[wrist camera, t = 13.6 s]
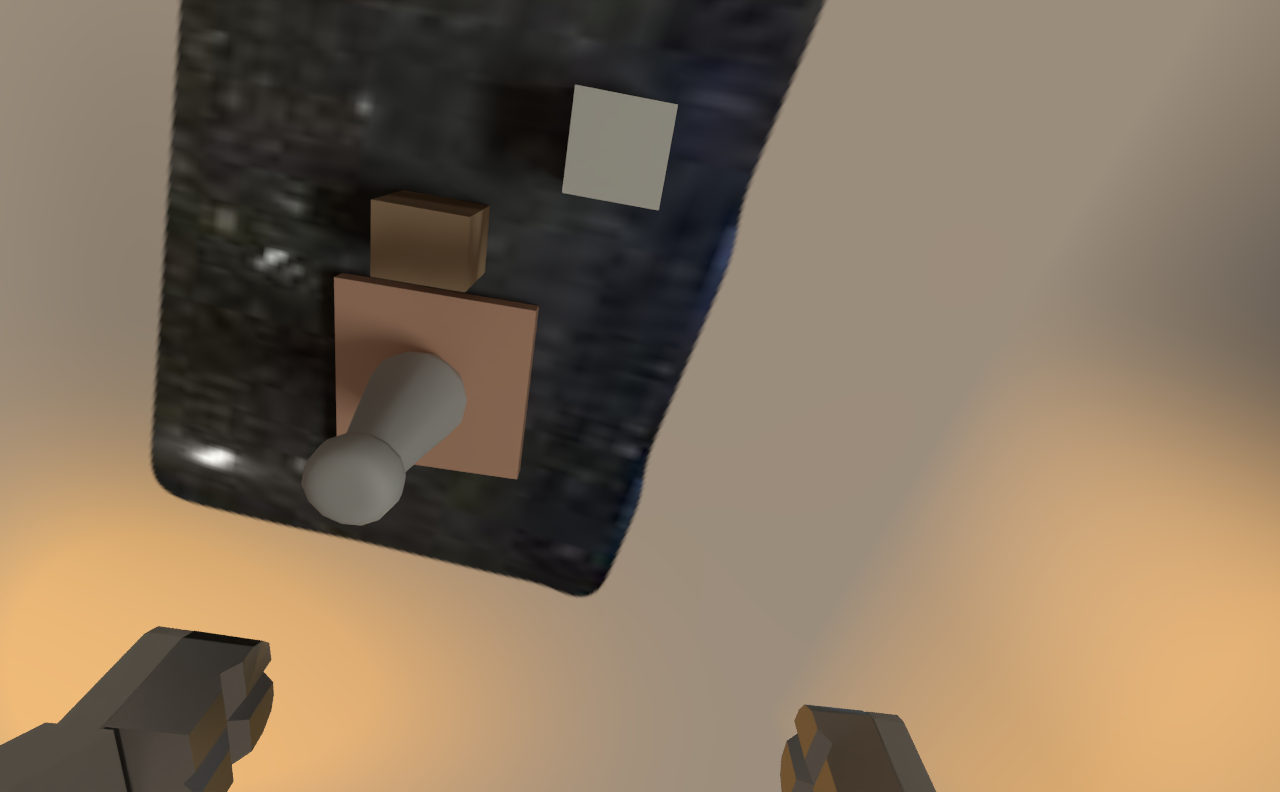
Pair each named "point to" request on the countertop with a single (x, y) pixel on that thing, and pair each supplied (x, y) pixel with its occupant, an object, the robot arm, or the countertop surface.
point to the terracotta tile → (464, 338)
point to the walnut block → (428, 240)
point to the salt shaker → (385, 438)
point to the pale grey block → (618, 147)
